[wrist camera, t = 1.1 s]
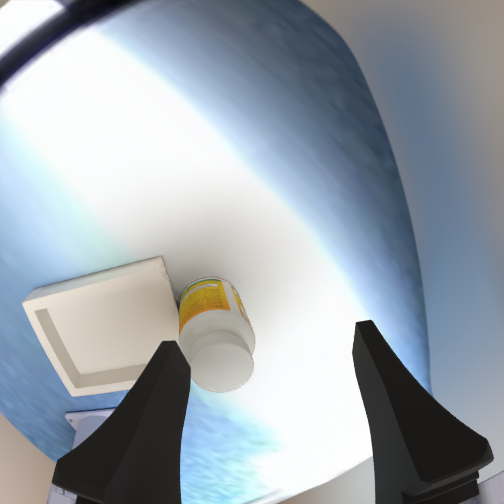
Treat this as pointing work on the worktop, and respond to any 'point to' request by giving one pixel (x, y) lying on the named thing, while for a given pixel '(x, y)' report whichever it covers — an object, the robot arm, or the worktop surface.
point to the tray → (105, 324)
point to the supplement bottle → (216, 335)
